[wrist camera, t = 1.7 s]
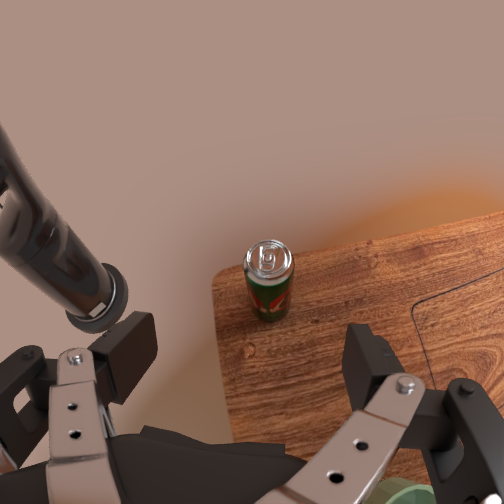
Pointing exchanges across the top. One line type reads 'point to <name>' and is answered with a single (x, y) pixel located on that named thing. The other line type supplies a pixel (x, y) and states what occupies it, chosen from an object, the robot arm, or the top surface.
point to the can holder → (401, 492)
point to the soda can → (269, 279)
